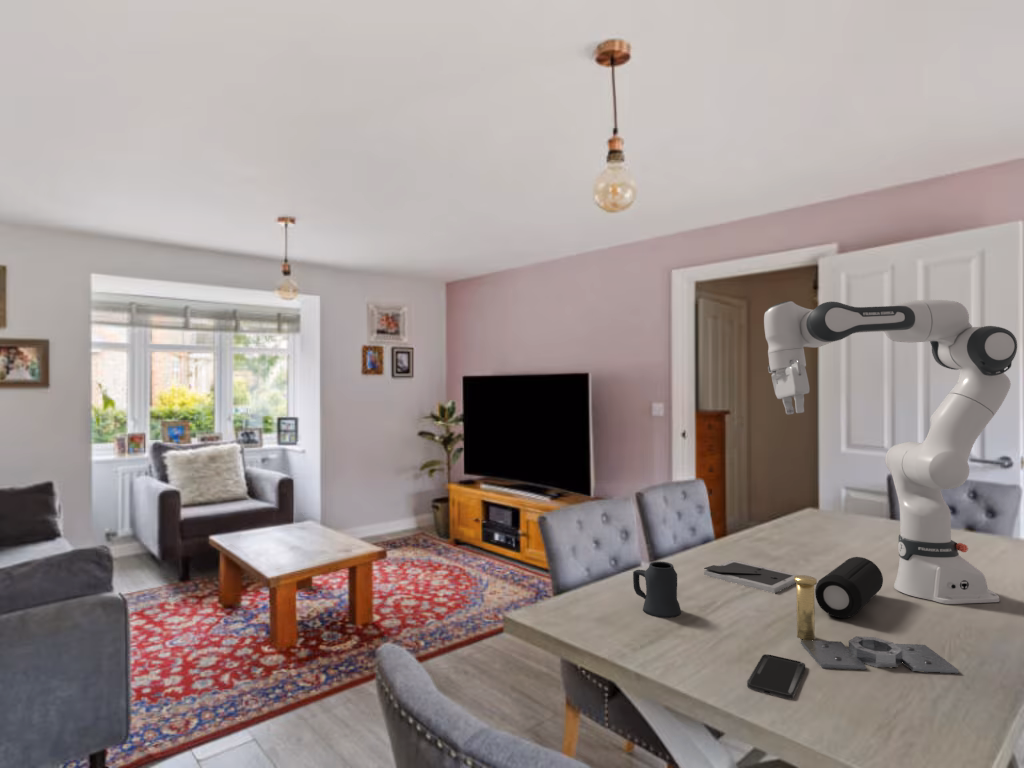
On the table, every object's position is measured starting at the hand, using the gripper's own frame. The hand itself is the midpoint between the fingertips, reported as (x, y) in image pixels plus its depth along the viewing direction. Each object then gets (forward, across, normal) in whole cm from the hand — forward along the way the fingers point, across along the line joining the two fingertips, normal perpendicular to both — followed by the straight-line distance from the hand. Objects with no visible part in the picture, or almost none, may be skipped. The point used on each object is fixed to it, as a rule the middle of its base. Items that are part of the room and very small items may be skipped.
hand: (795, 413), depth 159 cm
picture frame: (+46, +14, +14) cm, 50 cm away
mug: (+44, -15, +42) cm, 63 cm away
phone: (+50, -47, +22) cm, 72 cm away
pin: (+48, -27, +12) cm, 57 cm away
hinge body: (+50, -35, +1) cm, 61 cm away
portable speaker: (+49, -5, -5) cm, 49 cm away
